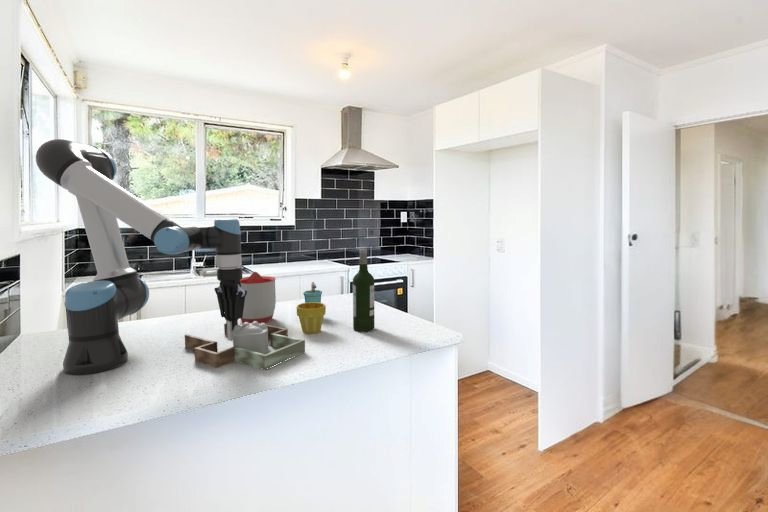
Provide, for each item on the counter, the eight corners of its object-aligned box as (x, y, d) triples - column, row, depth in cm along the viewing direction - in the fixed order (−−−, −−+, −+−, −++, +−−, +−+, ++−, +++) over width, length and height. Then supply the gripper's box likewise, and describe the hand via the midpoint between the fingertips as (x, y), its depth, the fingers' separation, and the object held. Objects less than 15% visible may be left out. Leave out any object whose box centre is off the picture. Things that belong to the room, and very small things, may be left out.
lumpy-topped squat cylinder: (232, 359, 119) (231, 331, 118) (234, 345, 131) (233, 319, 130) (269, 355, 122) (268, 328, 121) (267, 342, 134) (266, 317, 133)
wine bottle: (377, 330, 147) (377, 249, 144) (357, 333, 144) (356, 250, 141) (370, 325, 154) (369, 247, 151) (350, 327, 151) (349, 248, 148)
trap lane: (167, 352, 125) (166, 340, 124) (240, 329, 149) (240, 319, 148) (248, 377, 106) (247, 363, 106) (317, 346, 130) (317, 335, 129)
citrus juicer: (230, 318, 164) (227, 270, 162) (273, 314, 171) (271, 267, 169) (233, 328, 150) (230, 276, 148) (280, 323, 157) (278, 273, 155)
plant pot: (319, 336, 141) (319, 309, 140) (292, 334, 143) (291, 307, 142) (329, 328, 151) (329, 302, 150) (304, 326, 153) (303, 301, 152)
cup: (325, 321, 160) (325, 284, 159) (306, 322, 158) (305, 285, 156) (320, 312, 173) (319, 278, 172) (302, 314, 171) (301, 279, 169)
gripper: (252, 267, 127) (255, 339, 130) (225, 264, 134) (229, 333, 136) (233, 270, 121) (236, 346, 123) (205, 267, 127) (209, 339, 130)
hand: (232, 339), depth 130 cm, fingers closed
